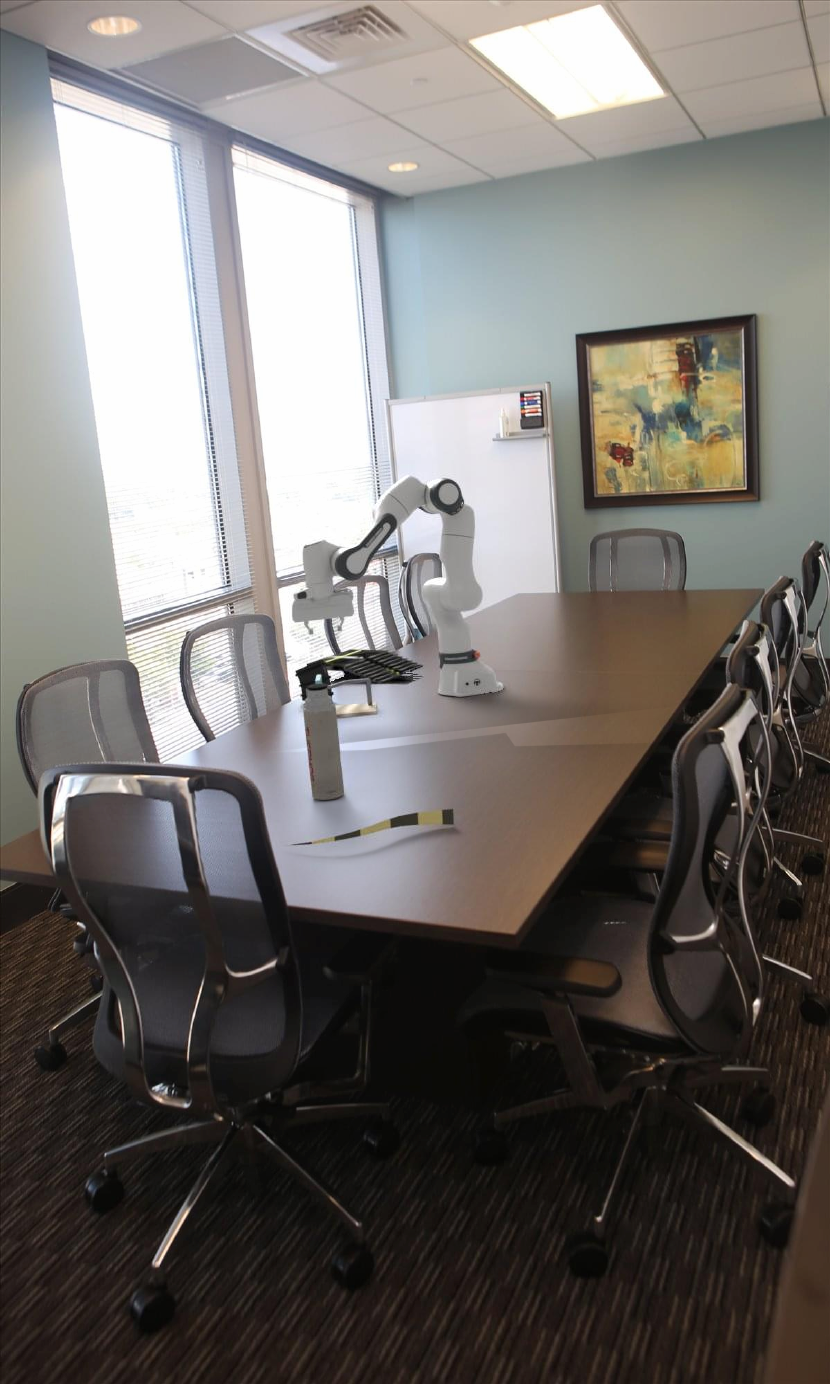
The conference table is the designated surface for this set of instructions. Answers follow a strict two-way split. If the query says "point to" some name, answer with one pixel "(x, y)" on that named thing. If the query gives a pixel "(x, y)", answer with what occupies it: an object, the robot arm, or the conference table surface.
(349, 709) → the board
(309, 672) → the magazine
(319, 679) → the light blue tall piece
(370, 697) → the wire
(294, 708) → the conference table surface
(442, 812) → the tape
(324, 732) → the thermos bottle
